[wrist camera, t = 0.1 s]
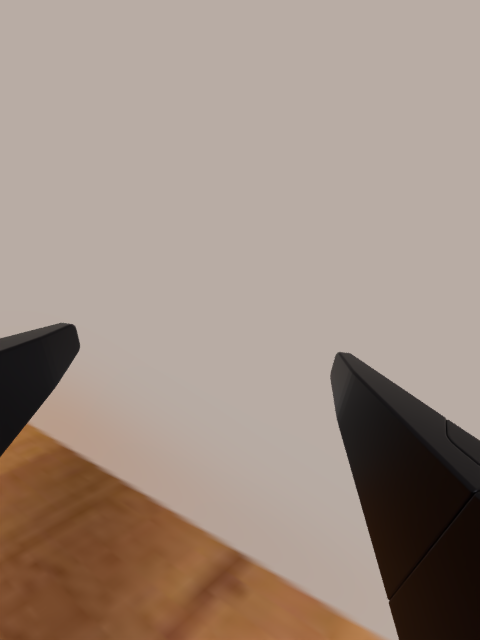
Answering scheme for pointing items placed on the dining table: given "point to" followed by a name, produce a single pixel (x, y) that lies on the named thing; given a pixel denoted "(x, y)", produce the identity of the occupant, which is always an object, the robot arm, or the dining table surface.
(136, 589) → the dining table surface
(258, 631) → the dining table surface
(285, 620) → the dining table surface
